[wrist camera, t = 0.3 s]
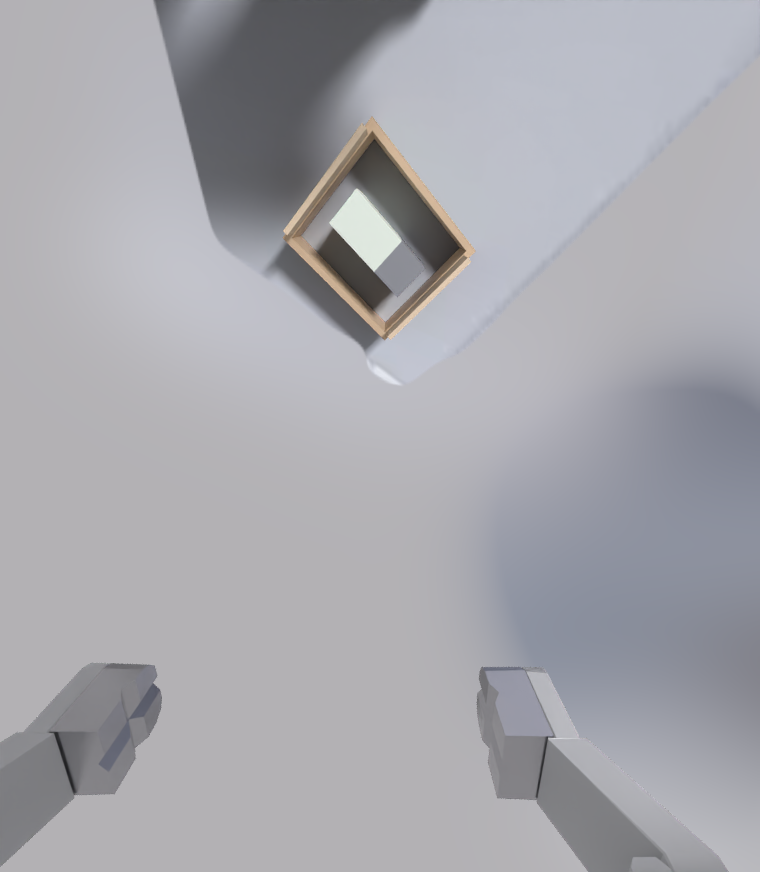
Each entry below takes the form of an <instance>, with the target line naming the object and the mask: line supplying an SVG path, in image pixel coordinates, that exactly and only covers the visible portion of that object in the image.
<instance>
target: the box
mask: <svg viewBox="0 0 760 872" xmlns="http://www.w3.org/2000/svg"><path fill="white" fill-rule="evenodd" d="M329 224H330V225H331V226H332V227H333V228H334V229H335V230H336V231H337V232H338V233H339V235H340V236H341V237H342V238H343V239H344V240H345V241H346V242H347V243H348V244H349V245H350V246H351V248H352V249H353V250H354V251H355V252H356V253H357V254H358V255H359V256H360V257H361V258H362V259H363V260H364V262H365V263H366V264H367V265H368V266H369V267H370V268H371V269H372V270H373V271H374V272H375V273H376V275H377V276H378V277H379V278H380V279H381V280H382V281H383V282H384V283H385V284H386V285H387V286H388V288H389V289H390V290H391V291H392V292H393V293H394V294H395V295H396V296H397V297H398V296H399V295H400V294H401V293H402V292H403V291H404V290H405V289H406V288H407V287H408V286H409V285H410V284H411V283H412V282H413V281H414V280H415V279H416V278H417V277H418V276H419V275H420V274H421V272H422V271H423V270H424V269H425V267H424V266H423V264H422V262H421V261H420V259H419V258H418V257H417V256H416V255H415V254H414V252H413V251H412V250H411V249H410V248H409V246H408V245H407V244H406V243H405V242H404V241H403V239H402V238H401V237H400V236H399V235H398V234H397V232H396V231H395V230H394V229H393V228H392V226H391V225H390V224H389V223H388V222H387V221H386V219H385V218H384V217H383V216H382V215H381V214H380V212H379V211H378V210H377V209H376V208H375V206H374V205H373V204H372V203H371V202H370V201H369V199H368V198H367V197H366V196H365V195H364V194H363V192H361V191H360V190H358V189H357V188H356V190H355V191H354V192H353V193H352V195H351V196H350V197H349V198H348V200H347V201H346V202H345V204H344V205H343V206H342V207H341V209H340V210H339V211H338V213H337V214H336V215H335V216H334V218H333V219H332V220H331V221H330V223H329Z"/></svg>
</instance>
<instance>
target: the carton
mask: <svg viewBox="0 0 760 872" xmlns="http://www.w3.org/2000/svg"><path fill="white" fill-rule="evenodd" d="M374 139H375V140H376V142H377V143H378V144H379V145H380V147H381V148H382V149H383V151H384V152H385V153H386V154H387V156H388V157H389V158H390V159H391V161H392V162H393V163H394V164H395V166H396V167H397V168H398V170H399V171H400V172H401V173H402V175H403V176H404V177H405V178H406V180H407V181H408V182H409V184H410V185H411V186H412V187H413V189H414V190H415V191H416V192H417V194H418V195H419V196H420V198H421V199H422V200H423V201H424V203H425V204H426V205H427V206H428V208H429V209H430V210H431V212H432V213H433V214H434V215H435V217H436V218H437V219H438V220H439V222H440V223H441V224H442V226H443V227H444V228H445V229H446V231H447V232H448V233H449V234H450V236H451V237H452V238H453V240H454V241H455V242H456V243H457V245H458V246H459V247H460V248H459V249H458V250H457V251H456V252H455V253H454V254H453V255H452V256H451V257H450V258H449V259H448V260H447V261H446V262H445V263H444V264H443V265H442V266H441V267H440V268H439V269H438V270H437V271H436V272H435V273H434V274H433V275H432V276H431V277H430V278H429V279H428V280H427V281H426V282H425V283H424V284H423V285H422V286H421V287H420V288H419V289H418V290H417V291H416V292H415V293H414V294H413V295H412V296H411V297H410V298H409V299H408V300H407V301H406V302H405V303H404V304H403V305H402V306H401V307H400V308H399V309H398V310H397V311H396V312H395V313H394V314H393V315H392V316H391V317H390V319H389V320H388V321H387V322H386V323H385V322H384V321H383V320H382V319H381V318H380V317H379V316H378V314H377V313H376V312H375V311H374V310H373V309H372V308H371V307H370V306H369V305H368V304H367V303H366V302H365V301H364V300H363V299H362V298H361V297H360V296H359V295H358V294H357V293H356V292H355V291H354V290H353V289H352V288H351V287H350V286H349V285H348V284H347V283H346V282H345V281H344V280H343V279H342V277H341V276H340V275H339V274H338V273H337V272H336V271H335V270H334V269H333V268H332V267H331V266H330V265H329V264H328V263H327V262H326V261H325V260H324V259H323V258H322V257H321V256H320V255H319V254H318V253H317V252H316V251H315V250H314V249H313V248H312V247H311V246H310V245H309V244H308V243H307V242H306V241H305V239H304V238H303V237H302V236H301V235H302V234H303V232H304V231H305V230H306V228H307V227H308V226H309V224H310V223H311V222H312V220H313V219H314V218H315V216H316V215H317V214H318V213H319V211H320V210H321V209H322V207H323V206H324V205H325V203H326V202H327V201H328V199H329V198H330V197H331V195H332V194H333V193H334V191H335V190H336V189H337V187H338V186H339V185H340V183H341V182H342V181H343V179H344V178H345V177H346V176H347V174H348V173H349V172H350V170H351V169H352V168H353V166H354V165H355V164H356V162H357V161H358V160H359V158H360V157H361V156H362V154H363V153H364V152H365V150H366V149H367V148H368V146H369V145H370V144H371V143H372V141H373V140H374ZM283 232H284V233H285V235H284V237H283V239H284V240H285V241H286V242H287V243H288V244H289V245H290V246H291V247H292V248H293V249H294V250H295V251H296V252H297V253H298V254H299V255H300V256H301V257H302V258H303V259H304V260H305V261H306V262H307V263H308V264H309V265H310V266H311V267H312V268H313V269H314V270H315V271H316V272H317V273H318V274H319V275H320V276H321V277H322V278H323V279H324V280H325V281H326V282H327V283H328V284H329V285H330V286H331V287H332V288H333V289H334V290H335V291H336V292H337V293H338V294H339V295H340V296H341V297H342V298H343V299H344V300H345V301H346V302H347V303H348V304H349V305H350V306H351V307H352V308H353V309H354V310H355V311H356V312H357V313H358V314H359V315H360V316H361V317H362V318H363V319H364V320H365V321H366V322H367V323H368V324H369V325H370V326H371V327H372V328H373V329H374V330H375V331H376V332H377V333H378V334H379V335H380V336H381V337H382V338H383V339H384V340H386V339H387V338H389V339H390V340H391V339H392V338H393V337H394V336H395V335H396V334H397V333H398V332H399V331H400V330H401V329H403V328H404V327H405V326H406V325H407V324H408V323H409V322H410V321H411V320H412V319H413V318H414V317H415V316H416V315H417V314H418V313H419V312H420V311H421V310H422V309H423V308H424V307H425V306H426V305H427V304H428V303H429V302H430V301H431V300H432V299H433V298H434V297H435V296H437V295H438V294H439V293H440V292H441V291H442V290H443V289H444V288H445V287H446V286H447V285H448V284H449V283H450V282H451V281H452V280H453V279H454V278H455V277H456V276H457V275H458V274H459V273H460V272H461V271H462V270H463V269H464V268H465V267H466V266H467V265H468V264H469V263H471V261H470V259H469V257H470V256H471V255H472V254H473V253H474V252H475V249H474V248H473V247H472V245H471V244H470V243H469V242H468V240H467V239H466V238H465V236H464V235H463V234H462V232H461V231H460V230H459V229H458V227H457V226H456V225H455V223H454V222H453V221H452V219H451V218H450V217H449V216H448V214H447V213H446V212H445V210H444V209H443V208H442V207H441V205H440V204H439V203H438V201H437V200H436V199H435V197H434V196H433V195H432V194H431V192H430V191H429V190H428V188H427V187H426V186H425V184H424V183H423V182H422V181H421V179H420V178H419V177H418V175H417V174H416V173H415V171H414V170H413V169H412V168H411V166H410V165H409V164H408V162H407V161H406V160H405V158H404V157H403V156H402V155H401V153H400V152H399V151H398V149H397V148H396V147H395V145H394V144H393V143H392V142H391V140H390V139H389V138H388V136H387V135H386V134H385V132H384V131H383V130H382V129H381V127H380V126H379V125H378V123H377V122H376V121H375V119H374V118H373V117H371V118H370V120H369V121H368V122H367V124H366V125H365V126H364V125H363V123H361V125H360V126H359V127H358V129H357V130H356V132H355V133H354V134H353V136H352V137H351V138H350V140H349V141H348V143H347V144H346V145H345V147H344V148H343V149H342V151H341V152H340V154H339V155H338V156H337V158H336V159H335V160H334V162H333V163H332V165H331V166H330V167H329V169H328V170H327V171H326V173H325V174H324V176H323V177H322V178H321V180H320V181H319V182H318V184H317V185H316V187H315V188H314V189H313V191H312V192H311V193H310V195H309V196H308V198H307V199H306V200H305V202H304V203H303V204H302V206H301V207H300V209H299V210H298V211H297V213H296V214H295V215H294V217H293V218H292V219H291V221H290V222H289V224H288V225H287V226H286V228H285V229H284V230H283Z"/></svg>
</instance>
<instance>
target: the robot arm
mask: <svg viewBox="0 0 760 872" xmlns="http://www.w3.org/2000/svg"><path fill="white" fill-rule="evenodd" d="M156 677H157V673H156V669H155V666H154V665H140V664H115V663H111V664H109V663H107V664H106V663H90V664H88V665H87V666H85V667H83V668H82V669H81V670H80V671H79V672H78V673H77V674H76V676H75V677H74V678H73V679H72V680H71V681H70V682H69V683H68V684H67V685H66V686H65V687H64V689H63V690H62V691H61V692H60V693H59V694H58V695H57V696H56V697H55V699H53V700H52V702H51V703H50V704H49V705H48V706H47V707H46V708H45V709H44V710H43V711H42V712H41V713H40V715H39V716H38V717H37V718H36V719H35V720H34V721H33V722H32V723H31V724H30V725H29V727H28V728H27V729H26V730H25V731H24V732H22V733H15V734H13V735H12V736H10V737H8V738H7V739H5V740H4V741H2V742H0V867H1V866H2V865H3V864H4V863H5V862H6V861H7V860H8V859H9V858H10V857H11V856H12V855H14V854H15V853H16V852H17V851H18V850H19V849H20V848H21V847H22V846H23V845H24V844H25V843H26V842H28V841H29V840H30V839H31V838H32V837H33V836H34V835H35V834H36V833H37V832H38V831H39V830H40V829H41V828H43V827H44V826H45V825H46V824H47V823H48V822H49V821H50V820H51V819H52V818H53V817H54V816H55V815H57V814H58V813H59V812H60V811H61V810H62V809H63V808H64V807H65V806H66V805H67V804H68V803H69V802H71V800H73V799H74V795H94V794H95V795H97V794H115V792H116V791H117V789H118V787H119V786H120V784H121V782H122V781H123V779H124V777H125V776H126V774H127V772H128V770H129V769H130V767H131V765H132V764H133V762H134V760H135V748H136V747H137V746H138V745H139V744H140V743H141V742H143V741H144V740H145V739H146V738H148V737H149V735H150V733H151V731H152V729H153V728H154V726H155V724H156V722H157V719H158V716H159V713H160V710H161V701H162V696H161V691H160V689H159V688H157V686H155V685H154V684H153V682H154V681H155V679H156ZM479 681H480V684H481V688H482V689H481V690H480V691H479V692H478V694H477V714H478V721H479V727H480V732H481V736H482V740H483V741H484V743H485V744H486V745H487V746H488V747H489V748H490V749H489V759H488V764H489V768H490V772H491V775H492V780H493V783H494V787H495V791H496V795H497V798H506V799H527V800H537V804H538V805H539V806H540V808H541V809H542V810H543V811H544V813H545V814H546V815H547V817H548V818H549V820H550V821H551V822H552V824H553V825H554V826H555V828H556V829H557V830H558V832H559V833H560V834H561V836H562V837H563V838H564V840H565V841H566V842H567V844H568V845H569V846H570V848H571V849H572V851H573V852H574V853H575V855H576V856H577V857H578V858H579V860H580V861H581V862H582V864H583V865H584V867H585V868H586V869H587V871H588V872H728V870H727V869H726V867H725V866H724V864H723V863H722V861H721V860H720V858H719V856H718V855H717V854H715V853H714V852H713V851H712V850H711V849H710V848H709V847H708V846H707V845H706V844H704V843H703V842H702V841H701V840H700V839H699V838H698V837H697V836H695V835H694V834H693V833H692V832H691V831H690V830H689V829H688V828H687V827H685V826H684V825H683V824H682V823H681V822H680V821H679V820H678V819H676V818H675V817H674V816H673V815H672V814H671V813H670V812H669V811H667V810H666V809H665V808H664V807H663V806H662V805H661V804H660V803H658V802H657V801H656V800H655V799H654V798H653V797H652V796H651V795H649V794H648V793H647V792H646V791H645V790H644V789H643V788H642V787H641V786H640V785H638V784H637V783H636V782H635V781H634V780H633V779H632V778H630V777H629V776H628V775H627V774H626V773H625V772H624V771H623V770H622V769H621V768H619V767H618V766H617V765H616V764H615V763H614V762H613V761H611V759H609V758H608V757H607V756H606V755H605V754H604V753H603V752H602V751H600V750H599V749H598V748H597V747H596V746H595V745H594V744H593V743H592V742H590V741H589V740H588V739H587V738H580V737H579V735H578V733H577V731H576V729H575V727H574V725H573V723H572V721H571V719H570V717H569V715H568V713H567V711H566V709H565V707H564V705H563V703H562V701H561V699H560V697H559V695H558V693H557V691H556V689H555V687H554V685H553V683H552V681H551V679H550V677H549V675H548V673H547V672H546V670H545V669H544V668H542V667H522V668H521V667H482V668H481V670H480V675H479Z"/></svg>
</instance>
